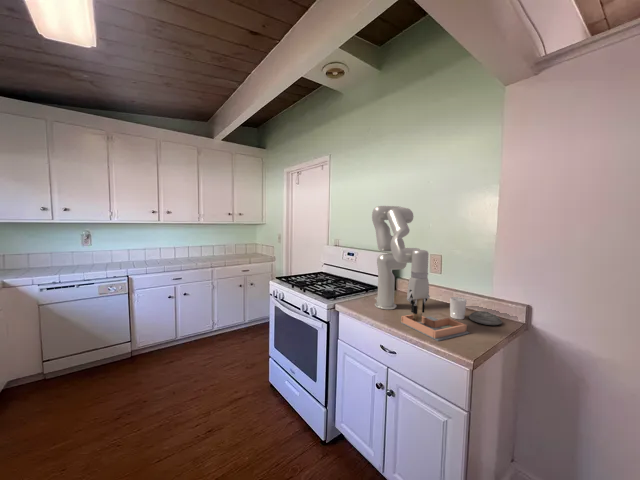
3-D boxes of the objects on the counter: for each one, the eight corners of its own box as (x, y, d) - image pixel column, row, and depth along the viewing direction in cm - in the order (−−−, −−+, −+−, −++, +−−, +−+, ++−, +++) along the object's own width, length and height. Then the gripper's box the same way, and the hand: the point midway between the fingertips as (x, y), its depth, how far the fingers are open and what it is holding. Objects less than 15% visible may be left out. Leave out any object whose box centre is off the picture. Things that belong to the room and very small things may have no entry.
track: (400, 322, 140) (400, 315, 140) (429, 317, 149) (430, 310, 148) (437, 341, 119) (438, 332, 119) (469, 333, 128) (469, 325, 128)
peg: (411, 319, 138) (412, 295, 137) (417, 318, 139) (418, 294, 138) (417, 322, 134) (418, 297, 133) (423, 321, 136) (424, 297, 135)
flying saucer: (471, 314, 155) (472, 305, 154) (503, 321, 145) (504, 311, 145) (465, 322, 143) (465, 311, 143) (499, 330, 134) (500, 318, 133)
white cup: (463, 315, 153) (464, 297, 152) (467, 320, 145) (468, 301, 144) (447, 314, 155) (448, 296, 154) (450, 318, 147) (451, 300, 146)
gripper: (426, 272, 142) (424, 308, 143) (400, 275, 135) (399, 312, 136) (438, 275, 135) (436, 312, 137) (411, 278, 128) (410, 317, 129)
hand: (417, 312), depth 136 cm, fingers closed on peg, 4 cm apart
